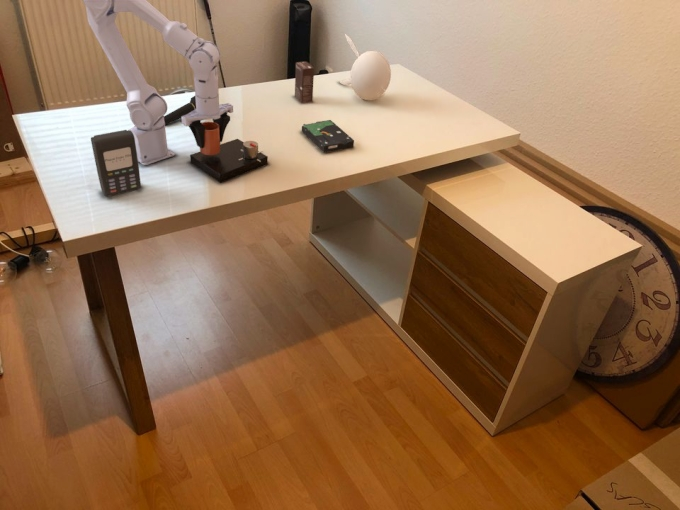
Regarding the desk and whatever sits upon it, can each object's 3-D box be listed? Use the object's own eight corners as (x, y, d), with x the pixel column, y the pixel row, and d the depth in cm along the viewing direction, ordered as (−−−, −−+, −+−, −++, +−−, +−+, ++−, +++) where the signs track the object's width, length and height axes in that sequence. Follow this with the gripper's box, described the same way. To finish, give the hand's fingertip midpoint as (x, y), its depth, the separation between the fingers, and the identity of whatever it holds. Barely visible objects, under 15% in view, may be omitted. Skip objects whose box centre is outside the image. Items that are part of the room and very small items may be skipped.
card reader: (105, 199, 131) (93, 142, 122) (99, 191, 134) (88, 135, 125) (143, 190, 136) (135, 134, 127) (137, 182, 138) (128, 127, 129)
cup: (208, 157, 144) (206, 132, 140) (195, 149, 146) (194, 125, 142) (224, 151, 147) (223, 127, 143) (212, 143, 150) (211, 119, 145)
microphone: (157, 139, 163) (210, 113, 174) (157, 125, 158) (211, 99, 170) (145, 128, 164) (198, 103, 175) (145, 113, 160) (199, 89, 171)
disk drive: (354, 148, 165) (329, 127, 174) (355, 140, 163) (330, 118, 172) (323, 154, 160) (300, 131, 169) (324, 145, 158) (301, 123, 168)
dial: (240, 154, 149) (239, 142, 147) (251, 150, 152) (251, 138, 150) (249, 160, 147) (249, 148, 145) (261, 156, 150) (261, 143, 148)
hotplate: (223, 184, 142) (222, 175, 140) (190, 163, 149) (189, 154, 147) (271, 165, 152) (272, 156, 150) (239, 145, 159) (239, 137, 157)
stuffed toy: (407, 61, 182) (362, 28, 194) (375, 70, 175) (330, 35, 188) (396, 111, 195) (355, 77, 208) (366, 121, 189) (325, 85, 202)
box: (293, 96, 190) (295, 62, 182) (305, 95, 192) (307, 61, 184) (300, 103, 186) (302, 68, 178) (312, 102, 188) (315, 67, 180)
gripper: (191, 106, 131) (195, 157, 139) (240, 93, 140) (241, 141, 148) (174, 96, 134) (179, 146, 143) (223, 84, 143) (224, 132, 151)
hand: (209, 143), depth 146 cm, fingers closed on cup, 5 cm apart
